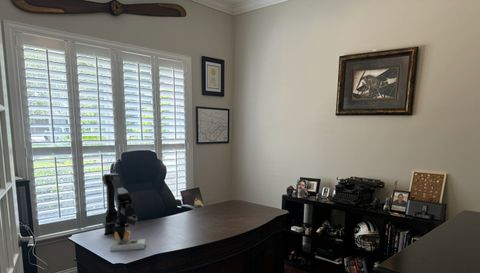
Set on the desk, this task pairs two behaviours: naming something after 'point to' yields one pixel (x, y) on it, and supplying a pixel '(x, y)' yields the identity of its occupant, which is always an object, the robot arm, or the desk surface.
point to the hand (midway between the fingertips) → (122, 238)
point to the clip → (126, 233)
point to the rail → (127, 245)
